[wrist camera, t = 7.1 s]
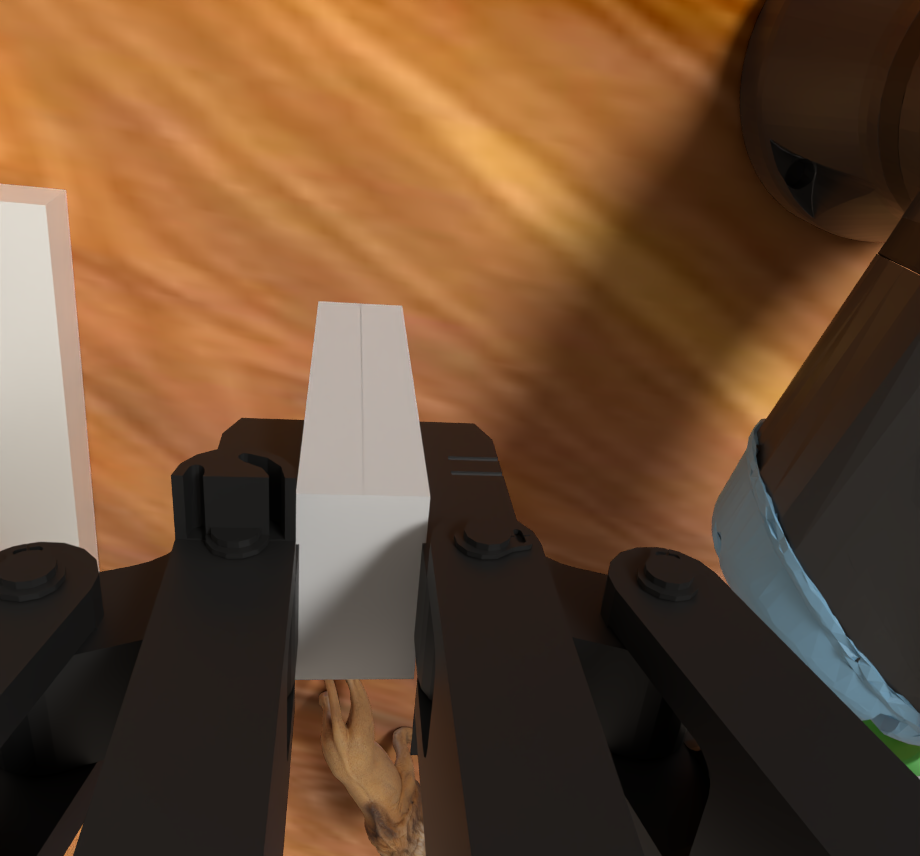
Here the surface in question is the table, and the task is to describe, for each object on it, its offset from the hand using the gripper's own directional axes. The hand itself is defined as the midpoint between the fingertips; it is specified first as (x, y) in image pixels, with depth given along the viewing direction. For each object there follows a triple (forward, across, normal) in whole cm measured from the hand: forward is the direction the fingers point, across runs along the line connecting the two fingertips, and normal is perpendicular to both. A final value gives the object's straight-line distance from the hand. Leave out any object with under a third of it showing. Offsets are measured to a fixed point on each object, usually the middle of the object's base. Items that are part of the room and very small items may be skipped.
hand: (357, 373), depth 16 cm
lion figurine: (+26, +3, -35) cm, 44 cm away
